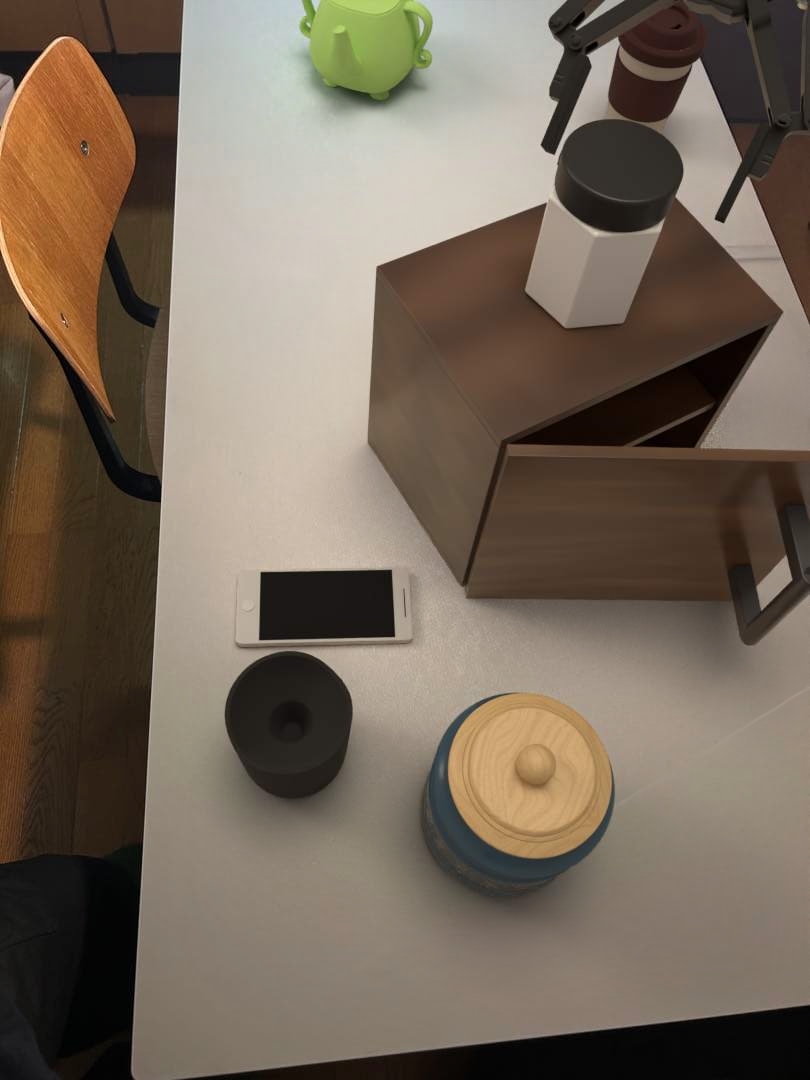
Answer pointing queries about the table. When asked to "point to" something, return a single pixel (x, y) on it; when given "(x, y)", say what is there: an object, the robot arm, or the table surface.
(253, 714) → the pen holder
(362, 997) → the table surface
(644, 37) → the coffee cup
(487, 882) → the canister
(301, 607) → the smartphone
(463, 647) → the table surface
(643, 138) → the jar
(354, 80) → the teapot
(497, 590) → the cupboard door
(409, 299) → the cupboard
